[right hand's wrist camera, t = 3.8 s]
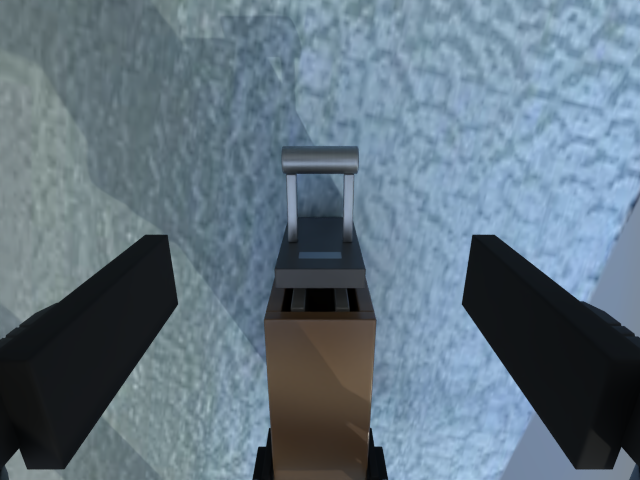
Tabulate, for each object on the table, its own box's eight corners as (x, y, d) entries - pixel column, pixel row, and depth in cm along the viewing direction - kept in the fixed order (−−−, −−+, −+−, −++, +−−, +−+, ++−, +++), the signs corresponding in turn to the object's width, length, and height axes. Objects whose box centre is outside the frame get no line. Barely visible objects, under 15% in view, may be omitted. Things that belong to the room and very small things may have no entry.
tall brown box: (283, 243, 31) (263, 319, 20) (357, 243, 31) (376, 319, 20) (289, 397, 37) (275, 519, 26) (351, 397, 37) (364, 519, 26)
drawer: (286, 137, 27) (269, 156, 18) (354, 137, 27) (370, 156, 18) (293, 372, 34) (284, 467, 26) (347, 372, 34) (356, 467, 26)
